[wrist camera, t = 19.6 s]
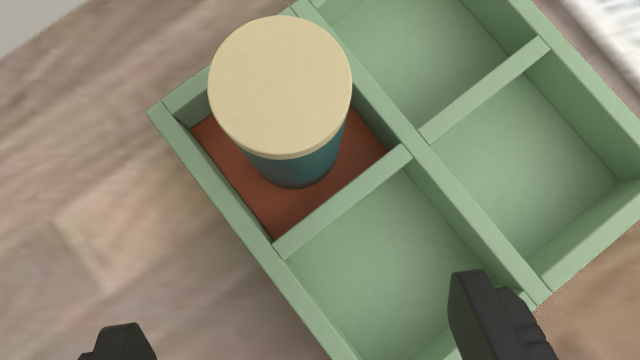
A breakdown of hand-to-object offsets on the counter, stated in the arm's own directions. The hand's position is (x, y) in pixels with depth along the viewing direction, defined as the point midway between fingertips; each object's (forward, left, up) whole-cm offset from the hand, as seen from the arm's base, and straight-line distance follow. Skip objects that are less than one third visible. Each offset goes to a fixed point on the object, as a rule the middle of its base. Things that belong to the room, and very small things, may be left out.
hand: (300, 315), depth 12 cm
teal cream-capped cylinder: (+3, +5, -8) cm, 10 cm away
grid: (+7, +2, -9) cm, 11 cm away
